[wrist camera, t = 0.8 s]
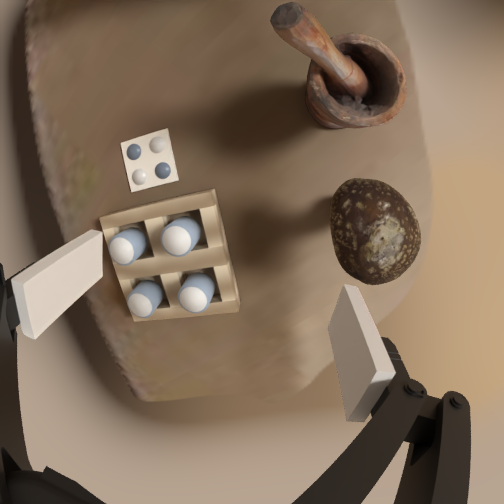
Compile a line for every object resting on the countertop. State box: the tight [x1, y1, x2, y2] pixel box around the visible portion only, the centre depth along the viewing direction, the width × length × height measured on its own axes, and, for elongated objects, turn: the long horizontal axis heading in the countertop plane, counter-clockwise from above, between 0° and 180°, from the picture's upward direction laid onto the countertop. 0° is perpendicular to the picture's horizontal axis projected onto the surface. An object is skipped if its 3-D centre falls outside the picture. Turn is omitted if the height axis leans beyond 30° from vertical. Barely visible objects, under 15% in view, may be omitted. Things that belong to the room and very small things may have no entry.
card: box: [121, 128, 179, 192], centre depth 37 cm, size 7×7×1 cm
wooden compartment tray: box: [99, 188, 241, 321], centre depth 40 cm, size 16×16×3 cm
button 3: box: [127, 280, 163, 318], centre depth 39 cm, size 4×4×4 cm
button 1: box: [108, 227, 147, 266], centre depth 37 cm, size 4×4×4 cm
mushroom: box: [330, 178, 421, 285], centre depth 30 cm, size 9×9×15 cm
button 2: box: [160, 216, 201, 257], centre depth 36 cm, size 4×4×4 cm
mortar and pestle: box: [270, 2, 407, 128], centre depth 24 cm, size 12×9×20 cm
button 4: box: [178, 272, 215, 313], centre depth 38 cm, size 4×4×4 cm
